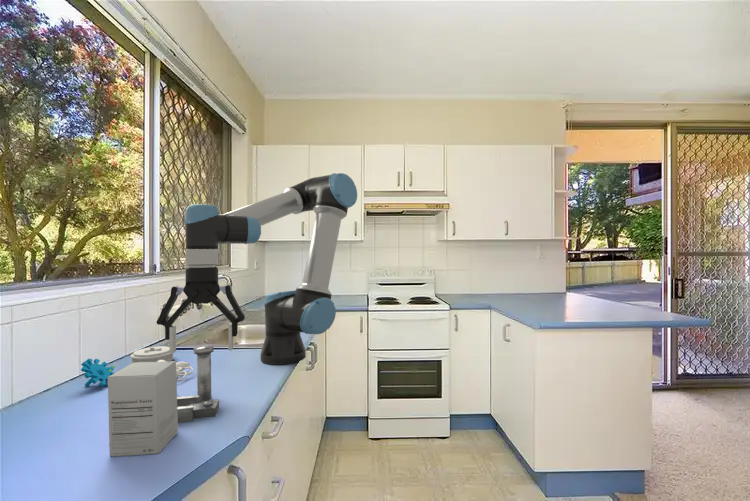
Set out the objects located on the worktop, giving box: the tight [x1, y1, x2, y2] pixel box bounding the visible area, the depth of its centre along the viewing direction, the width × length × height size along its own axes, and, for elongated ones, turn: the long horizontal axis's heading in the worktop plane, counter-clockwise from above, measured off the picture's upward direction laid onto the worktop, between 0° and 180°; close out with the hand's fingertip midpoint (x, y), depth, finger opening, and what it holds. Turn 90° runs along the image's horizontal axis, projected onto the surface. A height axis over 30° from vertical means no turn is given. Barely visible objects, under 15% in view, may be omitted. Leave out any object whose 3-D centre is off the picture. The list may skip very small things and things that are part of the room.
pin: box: [193, 344, 215, 401], centre depth 98 cm, size 5×5×13 cm
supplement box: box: [107, 360, 179, 457], centre depth 76 cm, size 9×9×15 cm
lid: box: [130, 345, 175, 364], centre depth 130 cm, size 13×13×5 cm
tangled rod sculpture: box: [157, 360, 194, 382], centre depth 111 cm, size 19×14×4 cm
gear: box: [80, 358, 116, 387], centre depth 109 cm, size 11×6×10 cm
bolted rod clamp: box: [177, 394, 220, 424], centre depth 88 cm, size 17×7×3 cm, turn 103°
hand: (202, 351), depth 97 cm, fingers open, 13 cm apart
